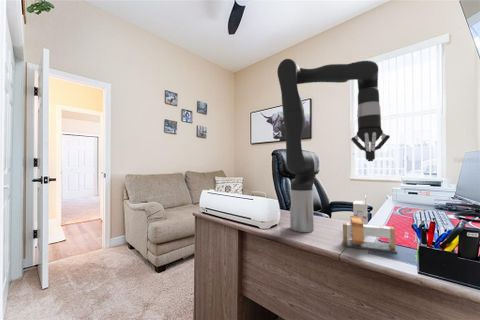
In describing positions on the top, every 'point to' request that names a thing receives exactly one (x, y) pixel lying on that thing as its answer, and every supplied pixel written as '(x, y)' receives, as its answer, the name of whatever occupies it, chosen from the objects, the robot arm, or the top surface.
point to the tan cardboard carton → (357, 230)
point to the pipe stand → (375, 232)
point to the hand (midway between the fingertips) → (370, 161)
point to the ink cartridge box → (361, 210)
